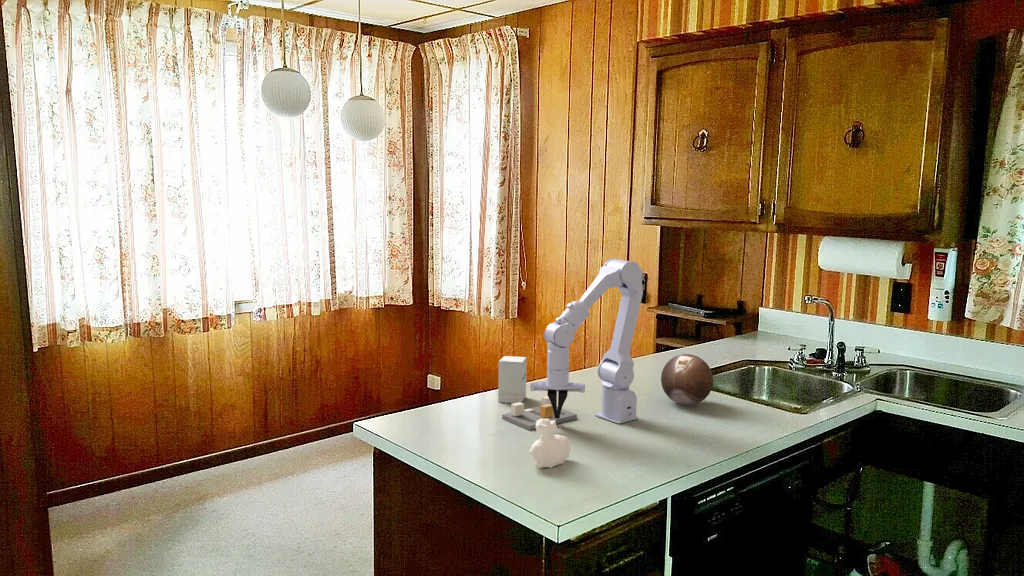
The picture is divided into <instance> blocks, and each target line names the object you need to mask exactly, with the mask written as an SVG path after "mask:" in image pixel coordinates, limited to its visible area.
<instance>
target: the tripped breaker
mask: <svg viewBox="0 0 1024 576" xmlns="http://www.w3.org/2000/svg"><path fill="white" fill-rule="evenodd" d="M539 406H540V417H543V418H548V417H553V413H554V411H553V407H552V405H550V404H546V405H542V404H541V405H539Z"/></svg>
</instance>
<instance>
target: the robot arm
mask: <svg viewBox="0 0 1024 576" xmlns="http://www.w3.org/2000/svg"><path fill="white" fill-rule="evenodd" d="M643 275H644V271H643V270H642V268H641V267H640V265H639V264H638V263H637V262H636V261H633V260H623V259H618V258H615V257H614V258H608V260H607V261H606V262H605V263H604V265H602V266H601V267H600V268H599V272H598V274H597V276H596V277H595V279H594V280H593V282H592V283H591V284H590V286H588V288H587V290H585V292H584V293H583V294H582V296H581V297H580V299H579V300H573V301H571V302H569V303H568V304H567V305H566V309H564V311H563V312H562V313H561V314H560V315H559V317H556V318H555V321H553V322H551V323H549V324H548V325H547V326H546V328H545V330H544V331H545V332H543V333H542V334H543V338H544V340H545V341H546V344H547V345H546V347H547V357H546V358H547V363H546V365H547V366H546V369H547V370H546V381H537V382H536V381H535V382H534V381H532V382H531V381H530V384H529V387H530V389H529V390H530V392H534V391H537V392H547V395H546V396H548V398H549V400H550V402H551V404H552V407H553V411H554V418H560V413H561V409H563V405H564V404H565V401H566V399H567V397H568V392H571V393H572V392H574V393H575V392H577V393H579V392H580V393H583V394H585V393H586V385H585V384H586V383H579V382H571V381H570V382H569V380H570V379H569V377H570V376H569V375H570V374H569V370H570V367H569V365H570V345H571V344H572V343H573V341H574V338H575V334H576V331H577V330H578V329H579V328H580V327H581V325H582V324H583V323H584V322H585V321H586V320H587V318H588V317H589V316H590V308H591V307H592V306H593V305H594V304H595V303H596V302H597V301H598V300H599V299H600V298H601V296H603V294H604V293H606V292H607V290H608V289H610V288H611V289H612V288H617V289H618V291H619V293H620V294H621V298H620V303H619V308H618V310H617V311H618V312H617V315H616V316H617V317H616V322H615V326H614V331H613V335H612V339H611V343H610V348H609V350H607V351H606V352H605V353H604V354H603V356H602V359H601V361H600V363H599V364H598V367H597V375H598V378H599V379H600V380H601V411H600V412H596V413H594V416H595V417H598V418H601V419H604V420H607V421H610V422H612V423H615V424H619V425H620V424H623V423H627V422H631V421H634V420H637V419H639V416H637V404H638V403H637V401H638V400H637V399H638V398H637V394H636V392H635V391H633V390H632V389H631V388H630V385H632V383H633V382H634V378H635V371H634V364H635V362H634V359H633V358H632V356H631V349H632V344H633V339H634V335H635V331H636V325H637V323H638V317H639V312H640V309H641V305H642V299H643V295H644V288H643V281H642V279H643ZM557 407H558V410H557Z"/></svg>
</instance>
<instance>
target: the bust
mask: <svg viewBox="0 0 1024 576" xmlns="http://www.w3.org/2000/svg"><path fill="white" fill-rule="evenodd" d="M555 422H556V420H553V421H551V420H549V418H548V419H543V418H541V419H539V420H537V421H536V427H535V428H536V429H535V430H536V434H539V433H540V434H539V435H540V436H539V438H538V439H537V440H535V441H534V443H532V445H531V447H530V450H529V454H530V455H531V457H532V459H533V460H534V461H535V463H536V466H537V467H538V468H541V469H542V468H550V469H551V468H553V467H556V466H558V465H563V464H564V463H565V461H566V460H567V459H569V457H570V454H571V449H572V448H571V443H570V441H569V438H568V437H567V436H565V435H561V434H555V433H556V430H558V426H557V424H556V423H555Z"/></svg>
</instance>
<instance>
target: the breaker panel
mask: <svg viewBox="0 0 1024 576" xmlns="http://www.w3.org/2000/svg"><path fill="white" fill-rule="evenodd" d="M546 404H550V405H552V404H551V402H550V400H549V398H548V395H546V396H541V405H539V406H533V407H529V408H527V409H525V403H523V402H522V403H521V402H518V403H510V412H508V413H503V414H502V415H501V419H502V420H504V421H507V422H508V421H509V423H511V424H514V425H516V426H518V427H520V428H523V429H525V430H528V431H532V430H536V428H535V427H536V421H537V420H539V419H541V418H543V417H540V406H542V405H546ZM557 410H558V406H557ZM548 418H549V420H551V421H553V420H556V422H555V423H556V425H557V424H560V423H565V422H568V421H573V420H576V419H578V414H577V413H575V412H572V411H570V410H566V409H563V408H562V409H561V413H560V418H554V413H553V417H548ZM548 418H543V419H548Z"/></svg>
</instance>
